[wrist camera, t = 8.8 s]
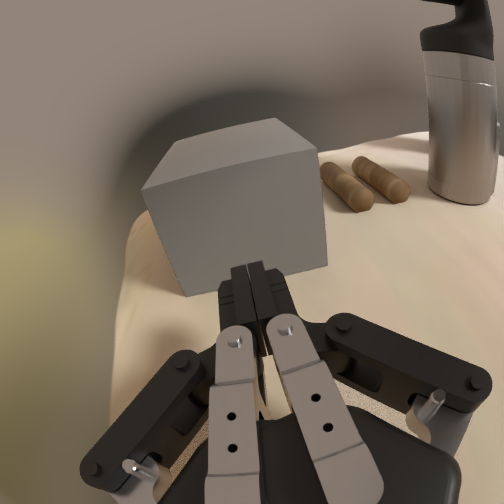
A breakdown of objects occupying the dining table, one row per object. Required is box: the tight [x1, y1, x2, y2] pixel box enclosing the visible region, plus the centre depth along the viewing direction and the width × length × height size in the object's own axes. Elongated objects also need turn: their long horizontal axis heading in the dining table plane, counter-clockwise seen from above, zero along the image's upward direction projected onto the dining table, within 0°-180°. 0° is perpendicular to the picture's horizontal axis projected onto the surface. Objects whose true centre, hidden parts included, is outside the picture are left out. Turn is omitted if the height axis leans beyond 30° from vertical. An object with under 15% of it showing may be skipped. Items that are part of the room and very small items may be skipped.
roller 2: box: [352, 156, 410, 204], centre depth 32 cm, size 3×10×3 cm, turn 8°
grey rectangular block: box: [141, 118, 328, 297], centre depth 27 cm, size 12×16×10 cm
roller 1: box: [320, 162, 374, 213], centre depth 32 cm, size 3×10×3 cm
